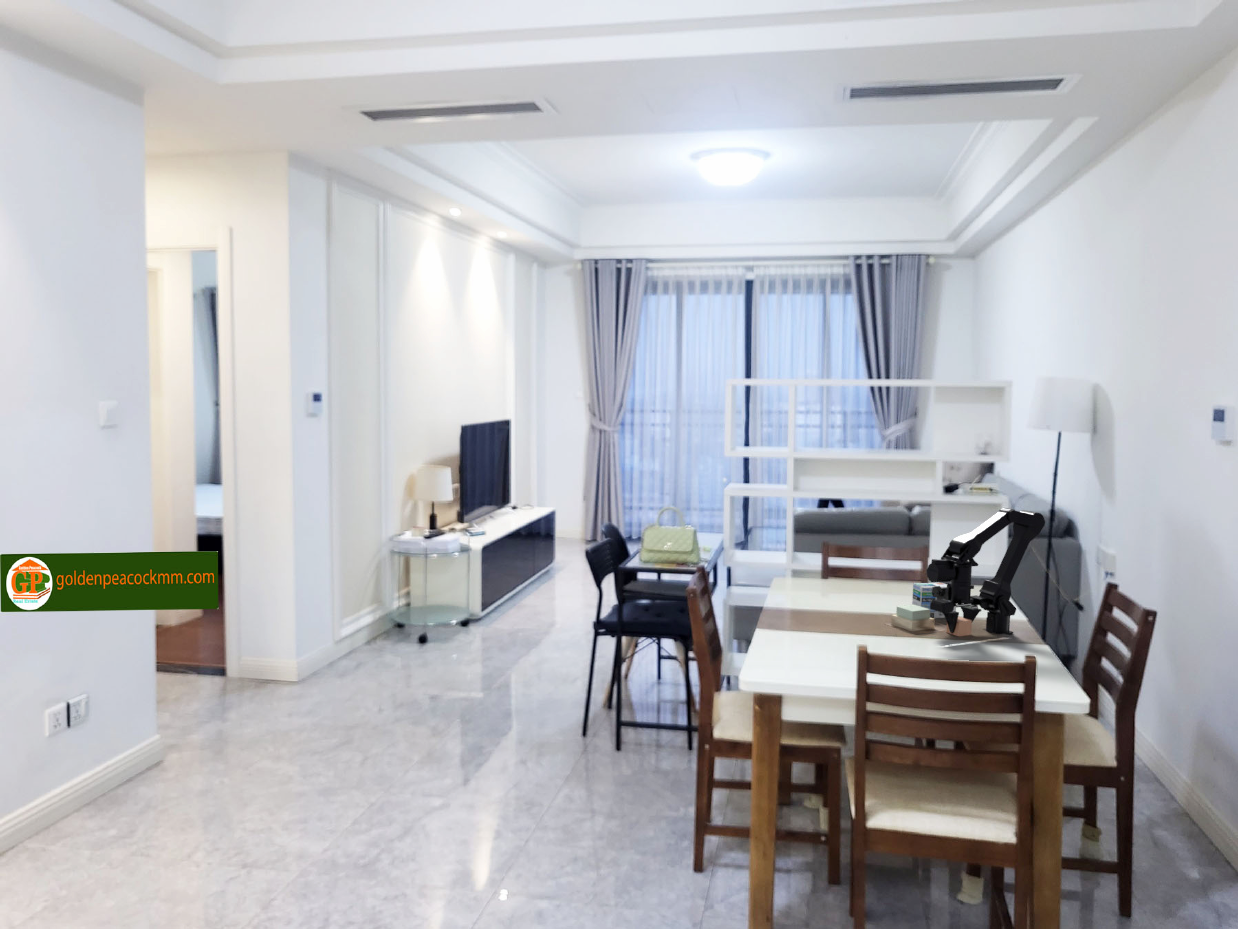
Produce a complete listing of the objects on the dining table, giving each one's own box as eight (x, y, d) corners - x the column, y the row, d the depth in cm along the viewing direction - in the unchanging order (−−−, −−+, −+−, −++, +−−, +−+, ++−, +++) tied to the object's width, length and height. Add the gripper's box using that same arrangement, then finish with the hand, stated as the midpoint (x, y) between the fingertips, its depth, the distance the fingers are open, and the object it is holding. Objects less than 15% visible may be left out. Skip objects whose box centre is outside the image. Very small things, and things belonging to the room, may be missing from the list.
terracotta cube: (958, 632, 294) (959, 616, 293) (971, 636, 289) (971, 620, 289) (946, 634, 292) (946, 618, 291) (958, 638, 287) (959, 621, 287)
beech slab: (913, 621, 304) (913, 612, 304) (934, 628, 296) (934, 618, 296) (891, 624, 300) (891, 615, 300) (911, 631, 292) (911, 621, 292)
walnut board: (925, 620, 308) (925, 619, 308) (958, 631, 296) (958, 629, 296) (884, 625, 301) (884, 623, 301) (915, 636, 288) (915, 634, 288)
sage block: (913, 613, 303) (914, 604, 302) (929, 618, 296) (930, 609, 296) (896, 615, 300) (896, 606, 299) (912, 620, 293) (912, 611, 293)
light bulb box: (920, 620, 309) (921, 587, 308) (910, 615, 316) (912, 582, 315) (951, 619, 311) (952, 586, 310) (941, 614, 317) (942, 582, 317)
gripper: (964, 573, 300) (961, 623, 302) (917, 578, 292) (915, 628, 294) (991, 580, 290) (989, 631, 292) (945, 585, 282) (942, 637, 284)
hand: (958, 632), depth 290 cm, fingers closed on terracotta cube, 5 cm apart
